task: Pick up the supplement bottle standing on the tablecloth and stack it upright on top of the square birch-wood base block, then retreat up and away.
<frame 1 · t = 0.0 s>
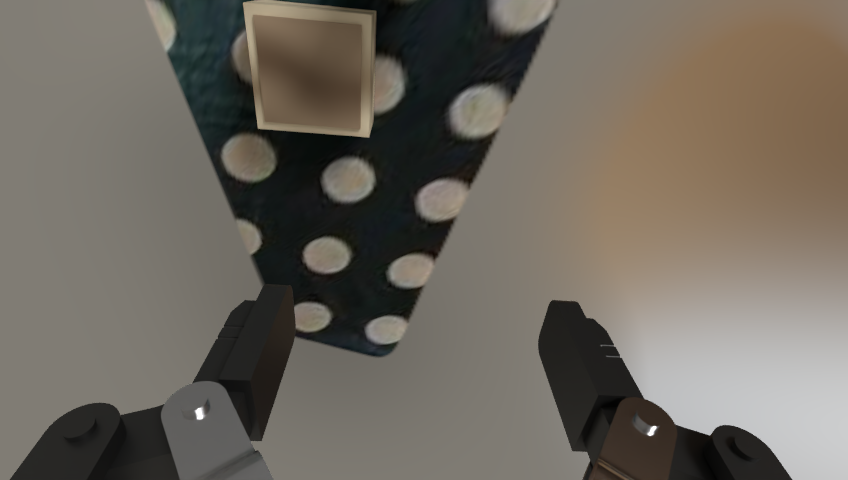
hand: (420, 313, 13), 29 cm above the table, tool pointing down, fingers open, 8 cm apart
base block: (322, 64, 37), on the table
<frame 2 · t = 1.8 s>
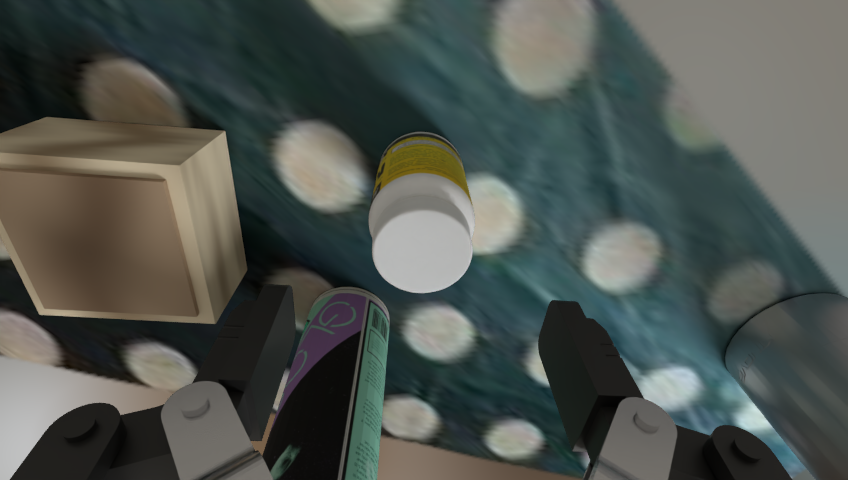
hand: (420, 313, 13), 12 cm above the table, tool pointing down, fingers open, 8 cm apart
base block: (157, 201, 24), on the table
supplement bottle: (420, 170, 24), on the table
spray can: (350, 315, 29), on the table
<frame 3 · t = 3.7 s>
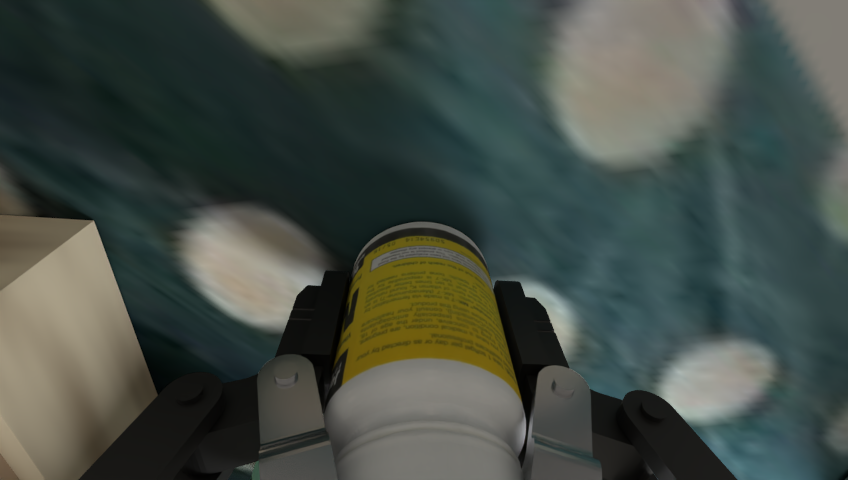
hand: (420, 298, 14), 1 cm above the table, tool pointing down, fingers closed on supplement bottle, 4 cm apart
base block: (3, 320, 15), on the table
supplement bottle: (420, 273, 15), on the table, touching gripper
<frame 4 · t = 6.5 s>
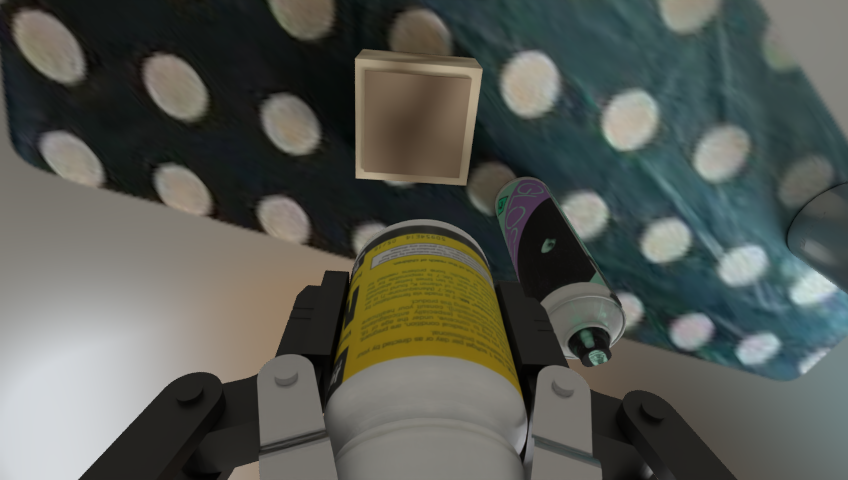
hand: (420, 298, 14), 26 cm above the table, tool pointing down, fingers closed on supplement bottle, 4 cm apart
base block: (415, 110, 36), on the table
supplement bottle: (420, 271, 15), point 25 cm above the table, touching gripper
spray can: (522, 201, 41), on the table
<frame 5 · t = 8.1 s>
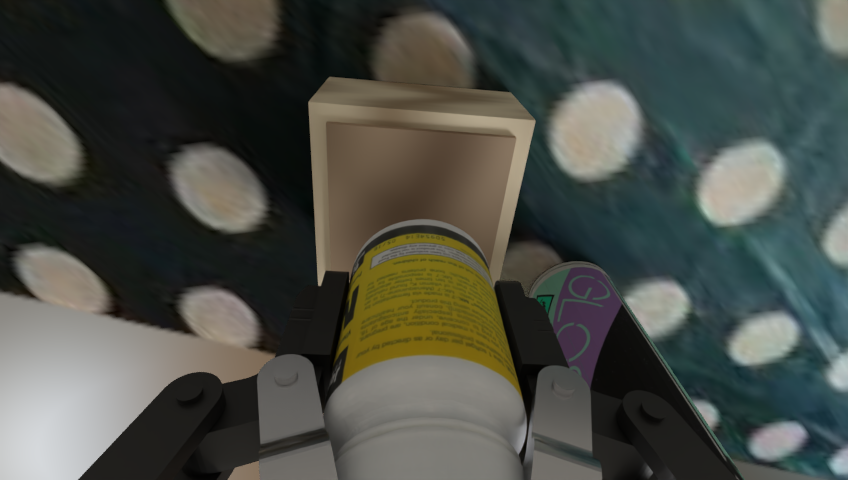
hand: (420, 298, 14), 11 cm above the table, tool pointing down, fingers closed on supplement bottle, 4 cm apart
base block: (414, 169, 23), on the table
supplement bottle: (420, 271, 15), point 10 cm above the table, touching gripper
spray can: (568, 292, 28), on the table
when the fingers open (7 cm above the table, at t = 9.3 s): supplement bottle stays where it is, resting on base block.
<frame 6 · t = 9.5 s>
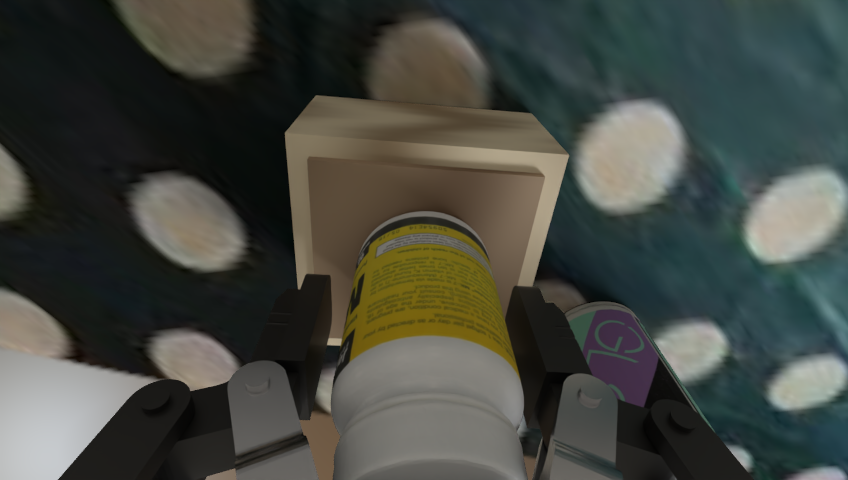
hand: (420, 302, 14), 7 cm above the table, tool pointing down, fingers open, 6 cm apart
base block: (416, 201, 20), on the table
supplement bottle: (423, 262, 15), point 5 cm above the table, touching base block
spray can: (590, 334, 25), on the table
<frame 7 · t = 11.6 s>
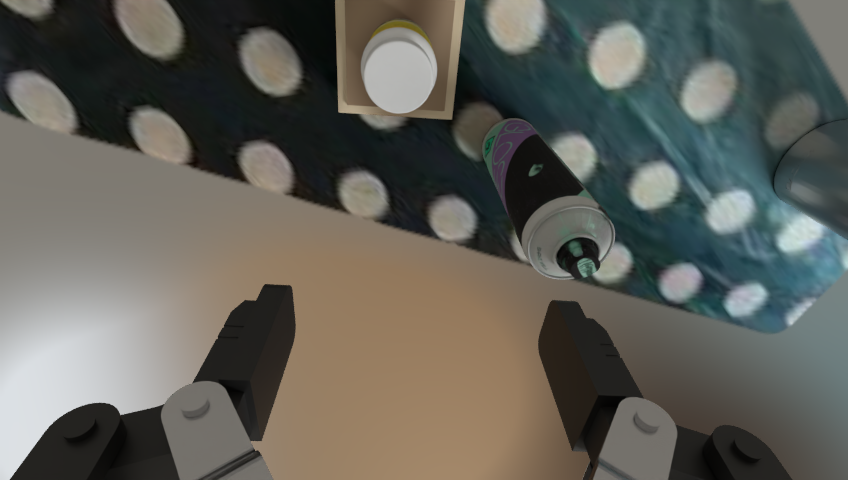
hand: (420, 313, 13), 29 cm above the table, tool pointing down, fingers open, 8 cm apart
base block: (399, 45, 35), on the table
supplement bottle: (400, 54, 31), point 5 cm above the table, touching base block
spray can: (509, 145, 41), on the table
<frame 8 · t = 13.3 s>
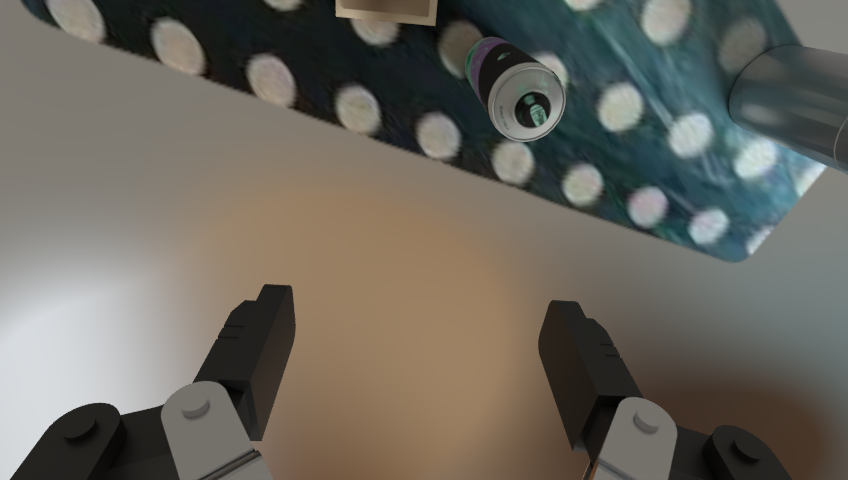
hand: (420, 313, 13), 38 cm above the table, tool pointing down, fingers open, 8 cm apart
spray can: (489, 64, 45), on the table
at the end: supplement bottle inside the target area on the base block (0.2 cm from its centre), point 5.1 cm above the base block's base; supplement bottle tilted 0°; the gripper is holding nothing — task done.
